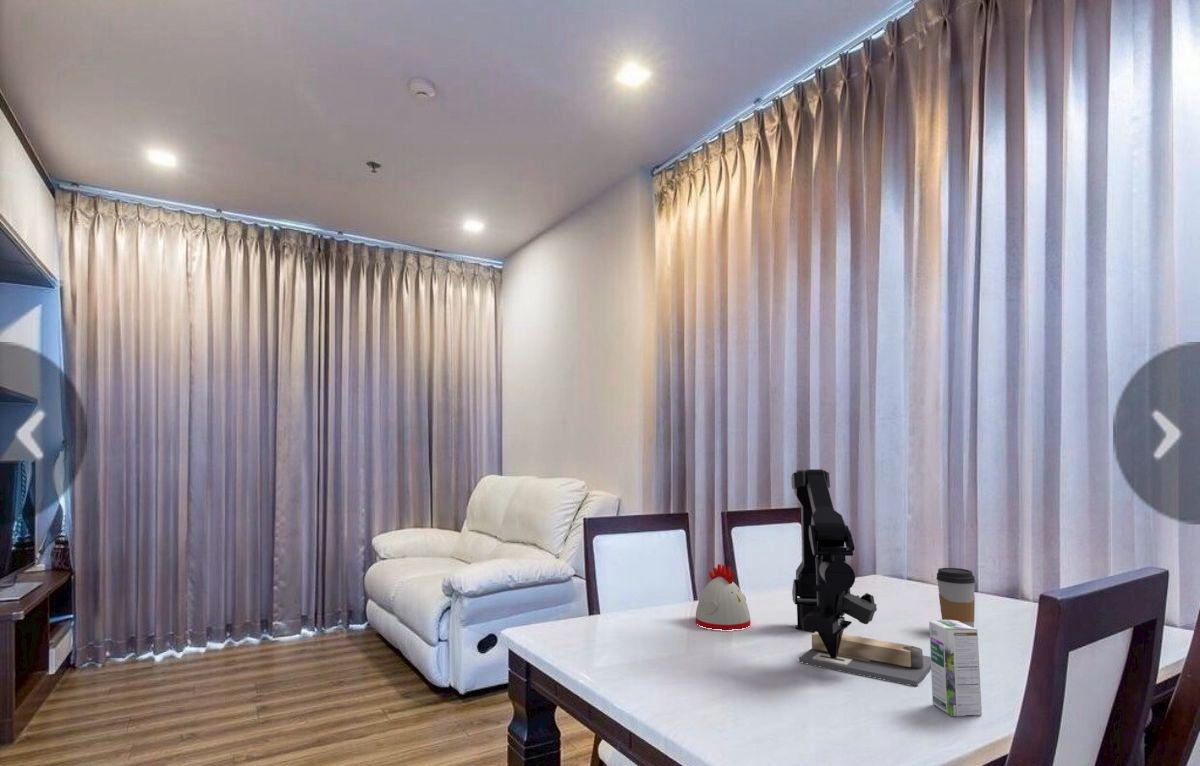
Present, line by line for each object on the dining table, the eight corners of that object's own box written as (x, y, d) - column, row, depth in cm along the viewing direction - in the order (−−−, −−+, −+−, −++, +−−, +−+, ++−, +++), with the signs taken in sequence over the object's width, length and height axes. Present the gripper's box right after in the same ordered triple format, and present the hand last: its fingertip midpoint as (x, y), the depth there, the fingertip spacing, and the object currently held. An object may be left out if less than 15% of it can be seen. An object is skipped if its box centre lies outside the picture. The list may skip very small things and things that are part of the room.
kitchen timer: (726, 634, 158) (724, 571, 159) (684, 623, 169) (683, 564, 170) (761, 624, 167) (759, 564, 168) (720, 614, 177) (718, 558, 179)
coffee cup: (984, 640, 152) (980, 574, 153) (945, 638, 153) (941, 573, 155) (971, 630, 160) (967, 567, 161) (934, 628, 161) (931, 566, 163)
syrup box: (931, 704, 115) (926, 619, 116) (962, 702, 116) (957, 618, 117) (951, 717, 109) (946, 628, 111) (984, 716, 110) (978, 627, 111)
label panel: (799, 662, 137) (798, 656, 138) (826, 642, 151) (826, 637, 151) (917, 686, 123) (916, 679, 123) (936, 662, 137) (935, 656, 137)
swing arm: (812, 649, 142) (811, 634, 142) (819, 644, 146) (818, 629, 146) (920, 669, 129) (919, 653, 129) (925, 663, 132) (924, 647, 132)
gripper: (856, 594, 123) (860, 679, 122) (883, 577, 138) (887, 653, 137) (799, 586, 130) (802, 667, 129) (831, 571, 145) (834, 643, 144)
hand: (833, 657), depth 134 cm, fingers closed
